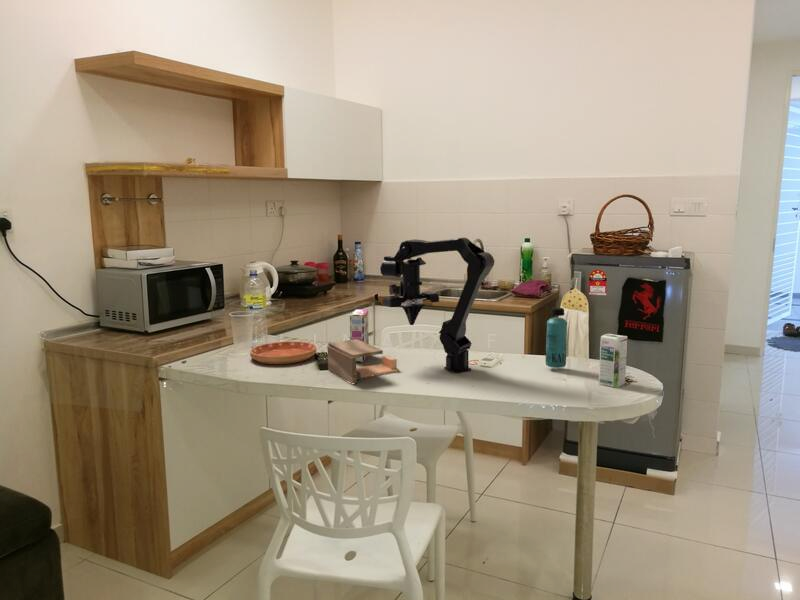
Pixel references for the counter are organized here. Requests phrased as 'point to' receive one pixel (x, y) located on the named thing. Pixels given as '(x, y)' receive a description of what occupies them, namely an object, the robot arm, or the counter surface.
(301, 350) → the saucer
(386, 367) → the wooden plank with block
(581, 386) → the counter surface
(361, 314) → the candy bar box
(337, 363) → the overhang shelf
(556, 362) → the beverage bottle
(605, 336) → the syrup box
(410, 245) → the robot arm
